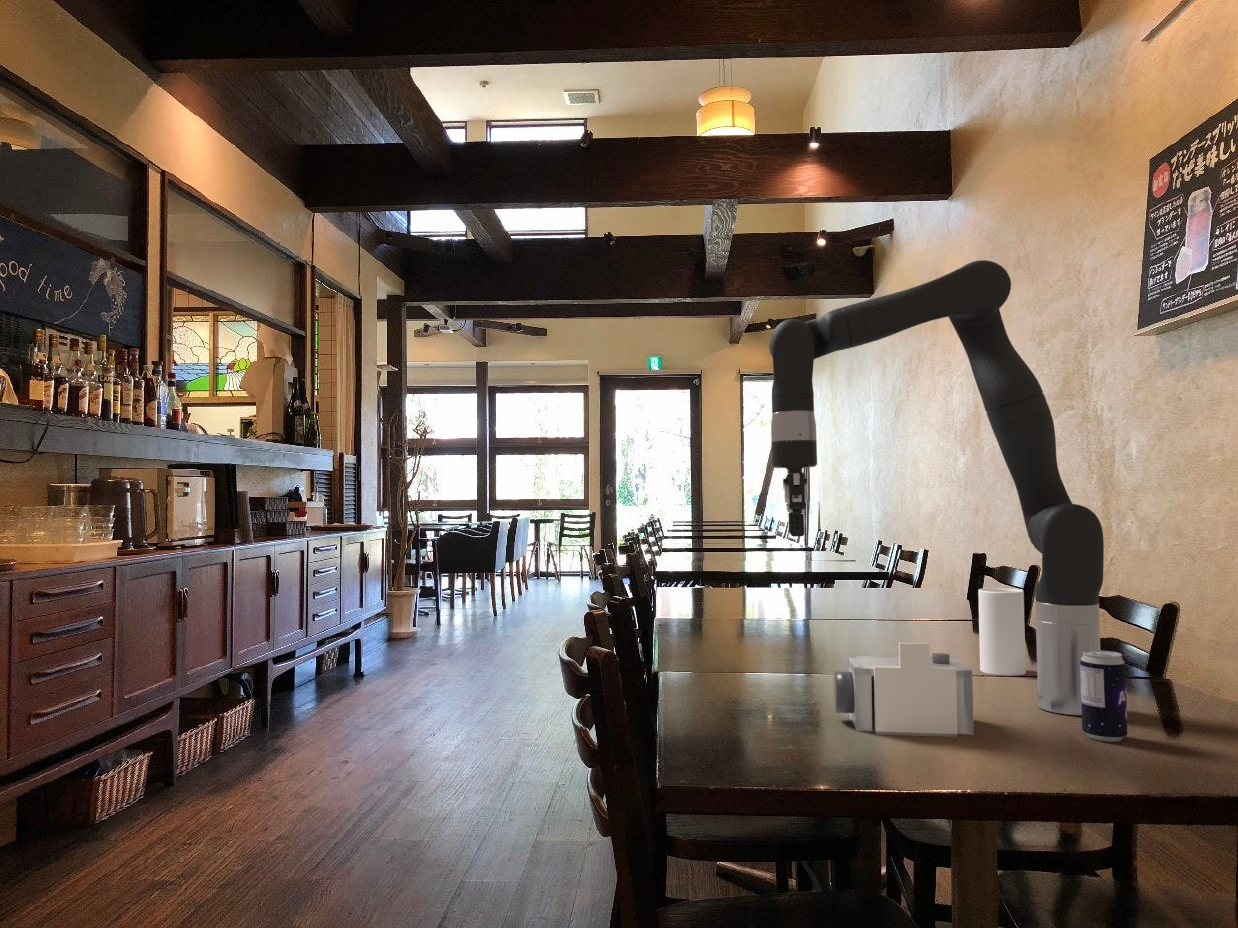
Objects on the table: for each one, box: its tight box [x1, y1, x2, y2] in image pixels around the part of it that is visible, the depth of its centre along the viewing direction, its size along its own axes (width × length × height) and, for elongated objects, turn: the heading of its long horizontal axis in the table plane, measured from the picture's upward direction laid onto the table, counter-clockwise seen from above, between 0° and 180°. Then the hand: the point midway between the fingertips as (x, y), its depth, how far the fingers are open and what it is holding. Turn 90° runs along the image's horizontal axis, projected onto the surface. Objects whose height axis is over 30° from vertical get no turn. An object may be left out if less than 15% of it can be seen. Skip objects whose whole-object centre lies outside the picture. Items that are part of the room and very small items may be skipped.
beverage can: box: [1080, 649, 1129, 743], centre depth 125 cm, size 6×6×12 cm
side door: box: [874, 641, 959, 738], centre depth 124 cm, size 11×1×13 cm, turn 81°
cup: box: [977, 587, 1027, 677], centre depth 173 cm, size 8×8×16 cm
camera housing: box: [833, 652, 974, 735], centre depth 130 cm, size 18×10×11 cm, turn 81°
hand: (796, 535), depth 148 cm, fingers open, 8 cm apart
